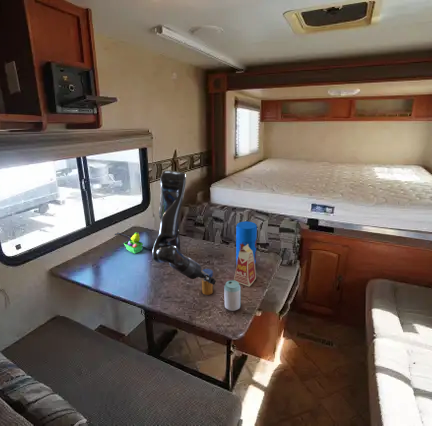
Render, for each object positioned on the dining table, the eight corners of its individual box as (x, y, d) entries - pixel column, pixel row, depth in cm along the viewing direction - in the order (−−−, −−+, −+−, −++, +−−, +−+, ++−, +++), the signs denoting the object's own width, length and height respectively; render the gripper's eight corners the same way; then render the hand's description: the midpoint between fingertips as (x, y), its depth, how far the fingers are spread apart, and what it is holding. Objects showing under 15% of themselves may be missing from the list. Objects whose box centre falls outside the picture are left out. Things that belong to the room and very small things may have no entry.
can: (222, 309, 125) (222, 286, 120) (227, 300, 131) (226, 278, 127) (238, 313, 122) (238, 289, 118) (242, 303, 128) (242, 280, 124)
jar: (200, 291, 138) (199, 272, 134) (207, 287, 141) (206, 268, 137) (207, 296, 134) (206, 277, 130) (215, 291, 137) (214, 272, 134)
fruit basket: (124, 250, 182) (121, 234, 178) (135, 245, 188) (133, 229, 185) (134, 255, 175) (132, 238, 171) (146, 250, 181) (144, 234, 178)
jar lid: (198, 275, 134) (198, 272, 134) (206, 270, 138) (206, 267, 138) (206, 280, 131) (206, 276, 130) (215, 275, 134) (215, 271, 134)
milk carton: (249, 286, 140) (250, 250, 133) (232, 281, 145) (232, 246, 138) (256, 277, 147) (257, 243, 140) (240, 273, 152) (240, 239, 145)
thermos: (233, 268, 157) (233, 227, 148) (240, 259, 165) (240, 220, 157) (252, 273, 152) (252, 230, 143) (258, 263, 161) (259, 223, 152)
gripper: (204, 265, 120) (222, 277, 132) (182, 255, 130) (201, 267, 141) (195, 281, 119) (215, 292, 130) (174, 269, 128) (194, 280, 140)
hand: (208, 279), depth 136 cm, fingers open, 8 cm apart
